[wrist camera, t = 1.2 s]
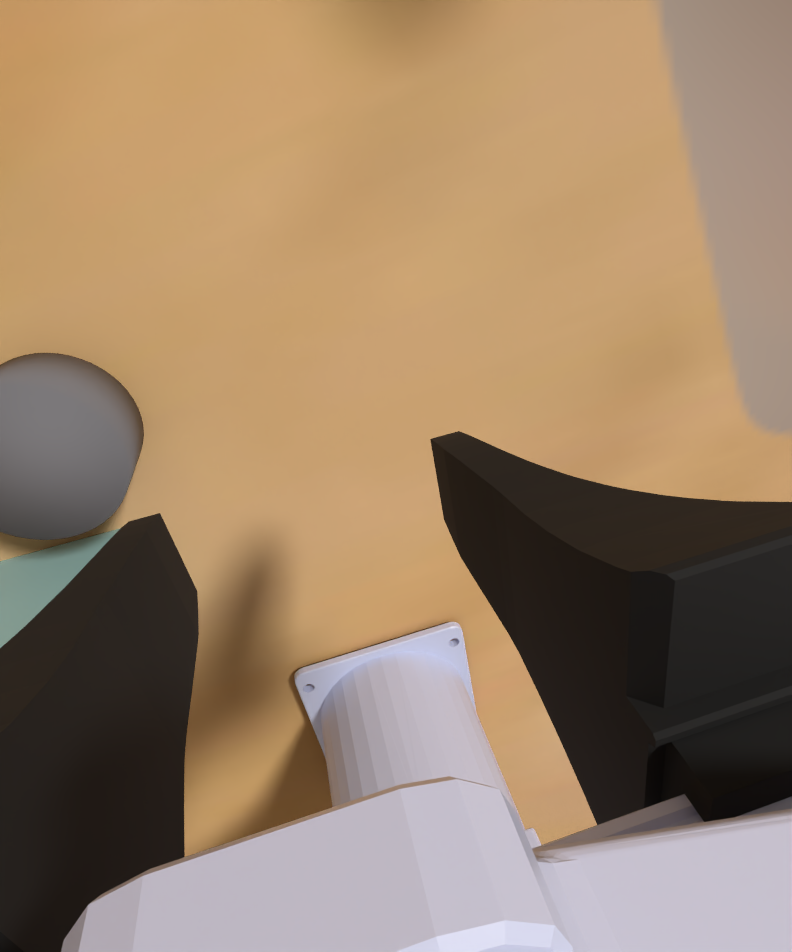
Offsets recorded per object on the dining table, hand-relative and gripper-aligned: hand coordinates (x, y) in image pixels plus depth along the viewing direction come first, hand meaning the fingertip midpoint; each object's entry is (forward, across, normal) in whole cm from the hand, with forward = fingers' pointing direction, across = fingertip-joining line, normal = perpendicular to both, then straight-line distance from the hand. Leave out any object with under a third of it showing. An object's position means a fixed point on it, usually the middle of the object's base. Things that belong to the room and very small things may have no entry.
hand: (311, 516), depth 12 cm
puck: (+10, +8, 0) cm, 12 cm away
